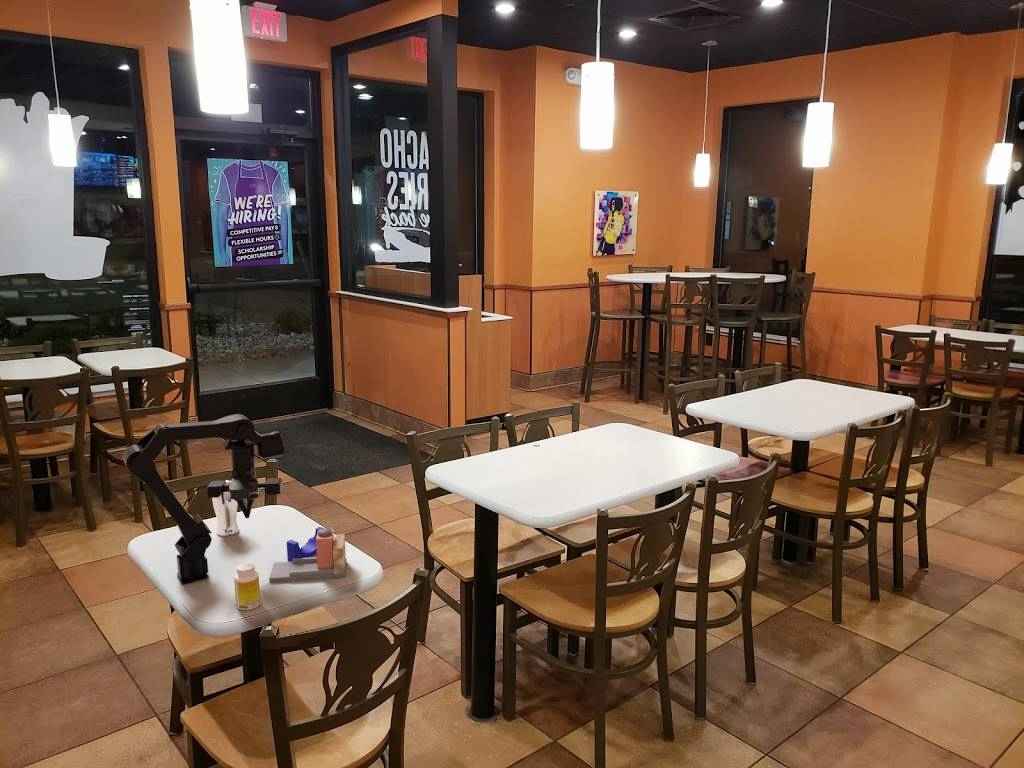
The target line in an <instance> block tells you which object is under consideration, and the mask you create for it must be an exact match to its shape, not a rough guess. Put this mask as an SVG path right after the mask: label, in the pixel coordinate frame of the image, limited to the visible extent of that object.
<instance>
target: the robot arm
mask: <svg viewBox="0 0 1024 768" xmlns="http://www.w3.org/2000/svg"><path fill="white" fill-rule="evenodd" d="M211 438H212V439H214V438H216V439H217V438H220V439H226V440H225V442H223V443H222V445H221V447H222V448H223V449H224V450H225V451H228V450H229V451H230V458H231V478H230V481H231V482H230V484H228V485H226V482H225V481H226V480H224V479H223V480H212V481H211V482H209V484H208V486H207V487H206V490H205V495H206V498H208V499H212V498H217V497H219V496H220V495H221V494H222V492H230V499H234V500H235V501H236V502H237V503H238V506H239V507H240V510H241V512H242V513H243V516H244V517H245V518H244V519H249V518H250V516H251V512H252V508H253V505H254V502H255V499H258V498H260V495H261V493H262V491H264V493H265V494H266V495H268V496H271V495H272V496H273V495H280V494H281V493H282V491H283V487H284V483H283V482H284V481H283V479H282V478H281V477H271V478H270V477H269V478H268V477H267V478H266V481H265V482H259V481H258V478H257V475H256V463H255V456H256V457H259V458H260V460H266V459H271V458H272V459H274V458H279V457H283V456H284V455H285V445H284V443H283V439H282V437H281V433H280V432H279V431H278V430H275V431H272V432H267V433H262V434H260V433H259V432H257V431H256V430H255V425H254V423H253V422H252V421H251V420H250V419H249V418H247V416H245V415H244V414H241V413H235V414H231V415H227V416H224V417H221V418H219V419H215V420H208V421H193V422H191V421H190V422H182V423H181V422H178V423H168V424H167V423H159V424H157V425H156V426H155V427H154V428H153V429H152V430H151V431H150V432H148V433H147V434H145V435H143V437H141V438H140V439H139V440H138V441H137V442H136V443H135V444H132V445H129V446H128V447H126V448H125V449H124V451H123V453H122V457H121V458H122V461H123V462H124V464H125V466H126V468H127V470H128V471H129V472H130V473H132V474H133V476H134V477H135V478H137V479H138V480H140V481H141V482H142V483H144V484H145V485H146V486H147V487H148V488H149V490H150V491H151V493H152V494H153V495H154V496H155V497H156V499H157V500H158V501H159V502H160V504H161V505H162V506H163V509H165V510H166V512H167V513H168V514H169V515H170V517H171V518H172V520H173V521H174V523H176V525H177V527H178V530H179V532H180V534H181V537H179V539H178V540H177V541H176V542H175V543H174V547H175V549H176V550H177V552H178V554H177V555H176V564H177V573H176V576H177V578H178V580H179V581H180V583H181V585H185V584H186V585H187V584H189V583H194V582H198V581H201V580H205V579H208V578H209V574H208V573H209V564H208V558H207V556H206V552H207V549H208V548H209V547H210V546H211V543H212V540H213V539H212V536H211V535H210V534H212V533H213V532H212V531H211V529H210V528H209V526H208V525H207V523H205V522H204V521H203V519H202V518H201V516H200V515H199V513H196V514H195V515H194V516H193V515H191V514H190V513H189V512H188V511H187V510H186V508H185V507H184V506H183V504H182V503H181V502H180V499H178V498H177V496H176V495H175V494H174V492H173V491H172V490H171V489H170V487H169V486H168V484H167V482H165V480H164V479H163V477H161V475H160V472H159V470H158V468H157V466H156V464H155V462H154V461H155V460H156V459H157V457H159V455H160V454H161V452H162V451H163V449H164V448H165V447H166V445H167V444H169V443H170V442H175V441H176V442H179V441H189V440H201V439H211Z"/></svg>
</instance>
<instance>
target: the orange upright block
mask: <svg viewBox="0 0 1024 768" xmlns="http://www.w3.org/2000/svg"><path fill="white" fill-rule="evenodd" d="M323 528H324V527H323ZM334 532H335V531H334V528H326V527H325V528H324V529H320V530H318V532H317V537H316V549H317V554H316V557H317V567H318V569H330V568H334V561H333V545H334V539H335V535H334V534H335V533H334Z"/></svg>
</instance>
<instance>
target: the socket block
mask: <svg viewBox="0 0 1024 768" xmlns="http://www.w3.org/2000/svg"><path fill="white" fill-rule="evenodd" d="M345 537H346V536H345V534H344V533H342V534H341V533H340V534H339V533H338V534H335V535H334V545H333V561H334V574H339V573H344V568H345V560H346V559H347V557H346V556H347V554H346V538H345Z"/></svg>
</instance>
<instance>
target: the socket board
mask: <svg viewBox="0 0 1024 768" xmlns="http://www.w3.org/2000/svg"><path fill="white" fill-rule="evenodd" d="M347 560H348V559H347V558H346V560H345V568H344V573H339V574H334V568H330V569H318V567H317V556H314V557H313V556H312V557H309V558H294V559H293V561H291V562H288V561H279V562H273V564H272V569H271V571H270V574H269V579H268V580H269V583H281V582H283V583H284V582H294V581H295V582H296V581H310V580H323V579H322V578H328V579H334V578H333V577H343V578H346V572H347V571H346V570H347V564H348V563H347ZM330 577H331V578H330Z"/></svg>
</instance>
